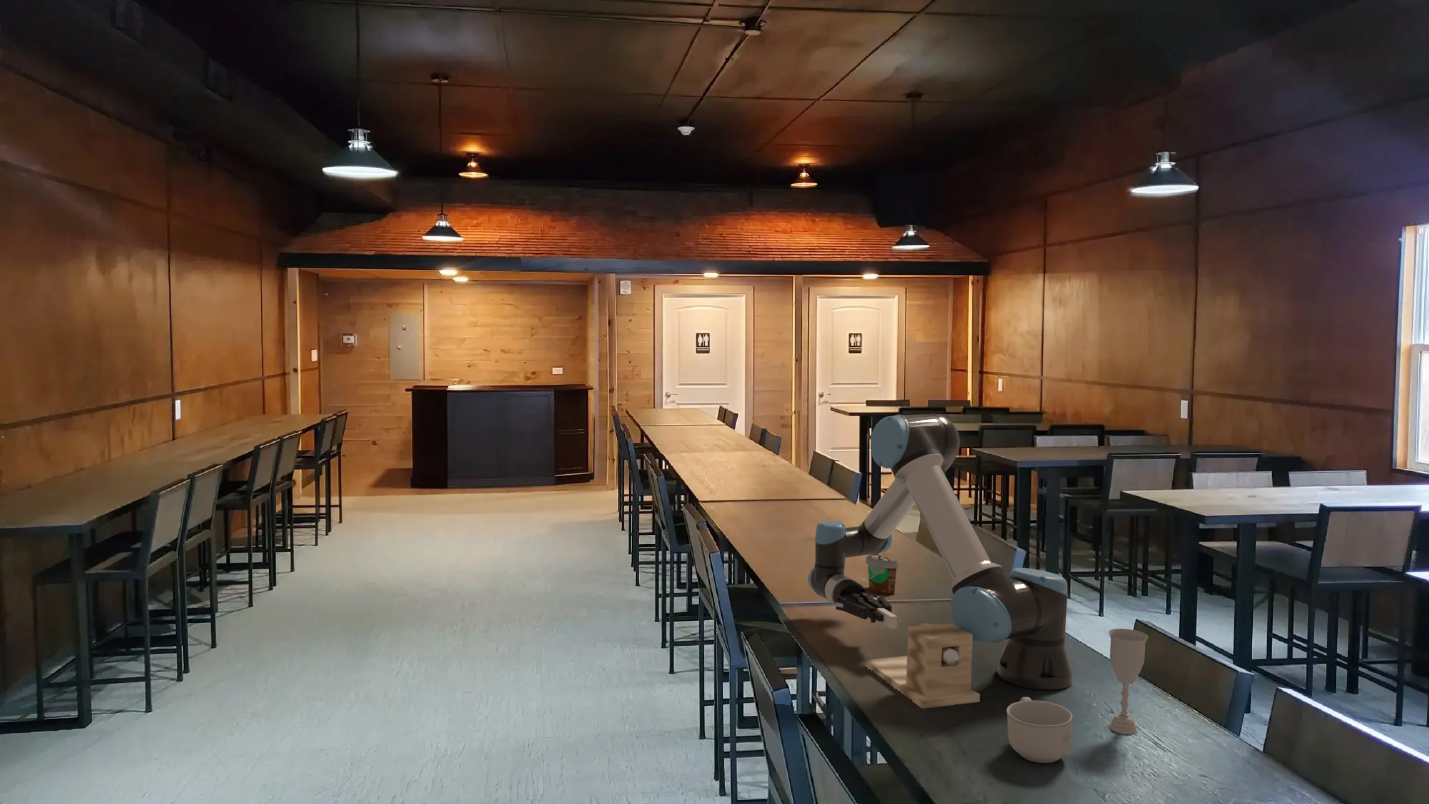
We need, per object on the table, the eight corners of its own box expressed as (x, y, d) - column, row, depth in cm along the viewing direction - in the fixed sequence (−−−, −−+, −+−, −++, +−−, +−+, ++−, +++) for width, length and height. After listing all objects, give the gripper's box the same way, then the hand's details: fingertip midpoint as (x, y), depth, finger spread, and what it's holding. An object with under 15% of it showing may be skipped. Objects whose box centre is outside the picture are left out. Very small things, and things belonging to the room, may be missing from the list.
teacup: (1075, 773, 156) (1077, 726, 156) (1008, 765, 159) (1010, 720, 158) (1062, 738, 170) (1064, 695, 169) (1000, 732, 172) (1001, 689, 172)
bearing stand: (865, 666, 205) (867, 606, 204) (917, 661, 209) (919, 602, 208) (922, 708, 182) (924, 641, 181) (979, 701, 186) (982, 635, 185)
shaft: (907, 657, 194) (908, 624, 193) (936, 654, 196) (937, 622, 195) (938, 678, 182) (939, 643, 182) (969, 674, 185) (970, 640, 184)
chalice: (1110, 717, 180) (1115, 626, 178) (1148, 727, 175) (1153, 633, 174) (1098, 729, 174) (1103, 635, 173) (1137, 740, 170) (1142, 643, 168)
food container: (857, 586, 272) (858, 552, 271) (876, 584, 274) (877, 551, 273) (877, 597, 260) (878, 562, 259) (896, 596, 262) (898, 561, 261)
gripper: (869, 606, 230) (919, 636, 208) (821, 610, 226) (867, 641, 204) (870, 577, 230) (920, 603, 208) (822, 580, 226) (868, 608, 203)
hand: (894, 622), depth 206 cm, fingers closed
